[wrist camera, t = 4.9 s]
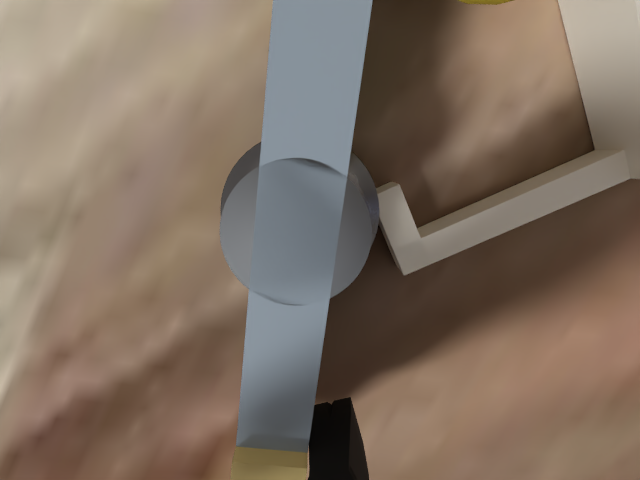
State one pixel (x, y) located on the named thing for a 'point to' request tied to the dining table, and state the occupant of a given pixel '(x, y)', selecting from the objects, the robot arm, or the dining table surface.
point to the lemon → (485, 1)
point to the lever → (296, 227)
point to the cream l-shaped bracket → (562, 181)
